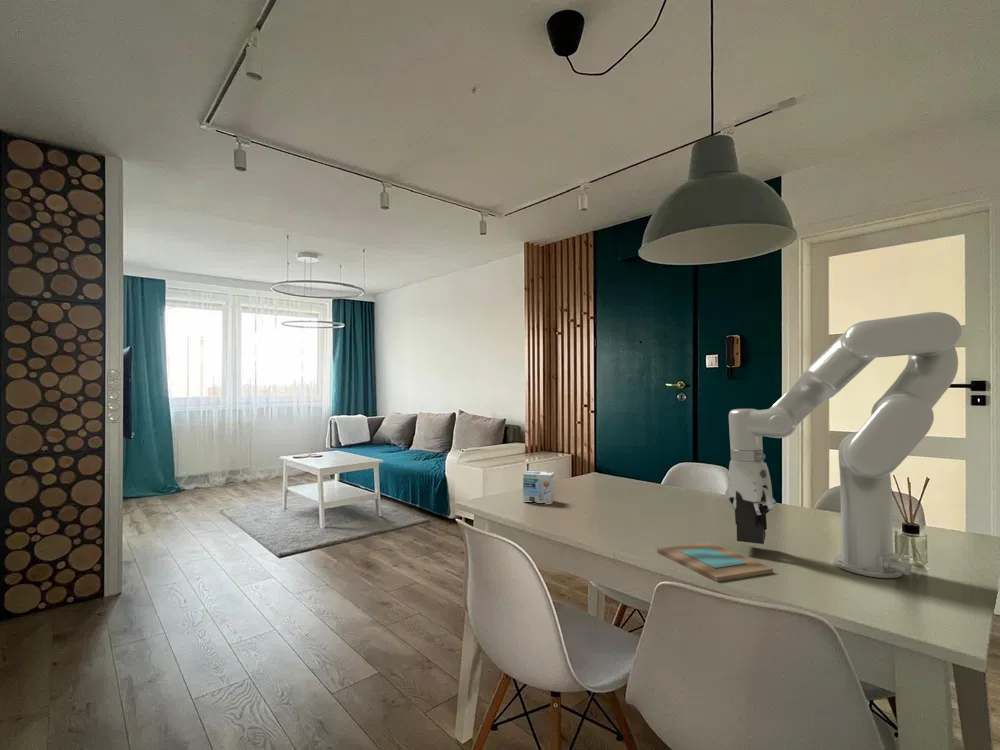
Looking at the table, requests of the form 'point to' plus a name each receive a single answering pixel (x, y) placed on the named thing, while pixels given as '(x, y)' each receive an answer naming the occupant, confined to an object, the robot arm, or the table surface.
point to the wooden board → (714, 561)
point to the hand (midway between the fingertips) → (750, 526)
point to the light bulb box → (538, 486)
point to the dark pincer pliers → (748, 522)
